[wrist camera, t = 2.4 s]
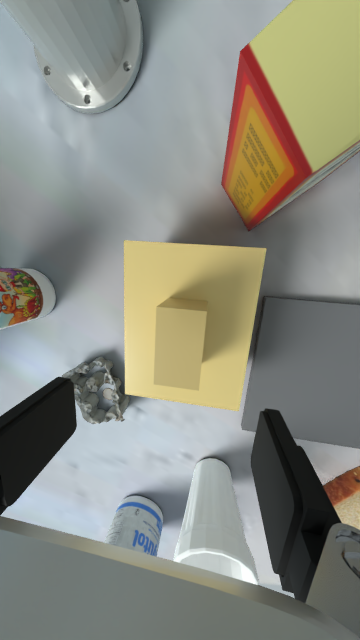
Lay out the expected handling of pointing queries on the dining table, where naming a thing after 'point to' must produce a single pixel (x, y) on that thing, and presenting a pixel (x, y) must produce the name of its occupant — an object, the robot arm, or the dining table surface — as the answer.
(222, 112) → the dining table surface
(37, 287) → the milk bottle
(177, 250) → the lid
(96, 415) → the egg carton
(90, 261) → the dining table surface
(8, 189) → the dining table surface
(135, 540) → the supplement tub
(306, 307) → the mat
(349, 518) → the slice of bread
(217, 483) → the cup
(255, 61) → the baking soda box
